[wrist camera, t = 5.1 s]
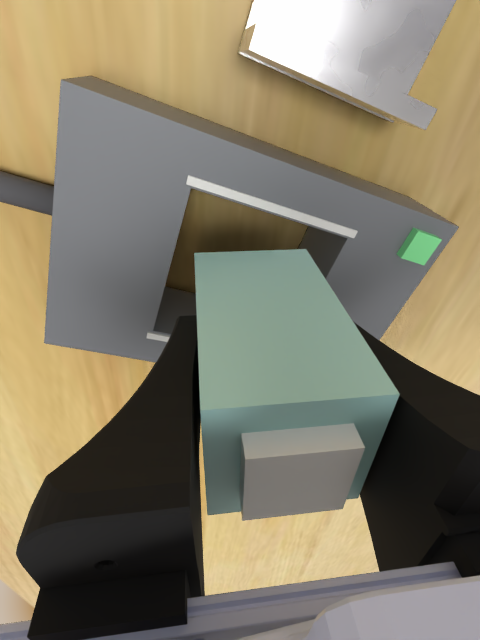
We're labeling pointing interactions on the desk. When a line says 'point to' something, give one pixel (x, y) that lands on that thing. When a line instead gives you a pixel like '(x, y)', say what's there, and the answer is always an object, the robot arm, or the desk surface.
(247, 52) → the grey metal channel bracket
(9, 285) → the desk surface
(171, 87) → the desk surface
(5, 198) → the grey bar
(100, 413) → the desk surface
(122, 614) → the robot arm
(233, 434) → the plug
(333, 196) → the port panel
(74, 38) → the desk surface
